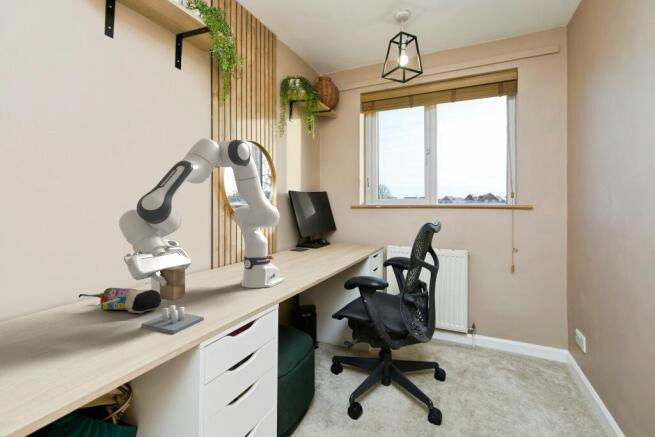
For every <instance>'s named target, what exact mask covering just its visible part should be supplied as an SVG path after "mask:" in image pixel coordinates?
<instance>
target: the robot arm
mask: <svg viewBox="0 0 655 437" xmlns="http://www.w3.org/2000/svg"><path fill="white" fill-rule="evenodd" d="M215 168H231V169H232V172H233V178H234V182H235V185H236V190H237V193H238V196H239V197H240V198H241V199H242V200H244V202H245V203H246V205H241V206H238V207H236V209H235V210H234V211H233V214H232V215H233V221H234V222H235V224H236V225H237V226H238V227H239V229H240V232H241V234H242V236H243V241H244V255H243V264H244V267H243V274H242V275H243V276H242V279H241V280H242V281H241V286H242V287H245V288H248V289H249V288H250V289H257V288H258V289H259V288H272V287H273V286H276V285H278V284H280V283H282V282H285V280H286V279H285V277H283V276H281V271H280V269H279V267H278V266H276V265H275V264H274V263H272V262H271V260H274V258H275V257H274V255H271V254H270V255H269V254H268V253H269V246H268V244H269V241H268V239H267V237H266V236H265V235H264V234H263V232H262V231H261V230H262V229H269V228H270V229H271V228H274V227H276V226H277V225H278V224H279V221H280V216H281V215H280V211H279V210H278V209H277V207H275V206H274V205H273V204H272V203H271V202H270V201H269V200H268V198H267V197H266V194H265V192H264V191H263V187H262V183H261V179H260V175H259V172H258V167H257V165H256V163H255V160H254V158H253V157H252V155H251V149H250V147H249V145H248V144H247V143H246V142H245V141H244V140H241V139H232V140H231V139H230V140H223V141H219V142H216V141H214V140H213V139H211V138H208V137H206V138H205V137H204V138H201V139H199V140H198V141H197V142H195V144H193V145H192V146H191V147H190V149H189V150H188V152H187V153H186V154H185V155H184V157H183V159H182V160H180V161H177V163H175V164H174V165H173V166H172V167H171V168H170V169H169V171H167V173H166V174H164V176H163V177H162V179H161V180H160V181H159V182H158V183H157V184H156V185H155V186H154V187H153V188H152V189H151V190H149V191H148V192H147V193H145V194H143V196H142V197H140V199H139V200H138V201H137V204H136V209H130V210H128V211H126V212H124V213H123V214H122V215H121V216H120V218H119V220H118V225H119V226H118V227H119V228H120V231H121V233H122V235H123V237H124V239H126V241H127V242H128V243H129V244H130V245H131V246H132V250H133V251H134V253H126V255H125V256H124V257H123V261H124V263H125V264H126V265H127V269H128V271H129V273H130V274H131V277H132V278H133V280H136V281H141V280H144V279H145V280H146V279H149V278H150V279H151V277H153V279H154V280H156V281H158V282H160V283H161V285H162V286H165V285H167V284H168V283H169V281H168V279H167V278H163V277H162V276H161V275H160V271H162V270H163V269H164V268H169V267H174V266H176V267H185V270H187V269H188V268H189V266H190V265H191V263H192V260H191V257H189V254H187V252H186V251H185V250H184V249H183V248H182V247H180V242H178V241H176V240H170V239H166V238H164V237H167V236H168V235H171V234H172V233H175V232H176V231H178V229H179V228H180V227H181V225H182V218H181V216H180V214H179V212H178V211H177V209H176V208H175V207H174V205H173V200H174V197H175V195H176V194H177V193H178V192H179V190H180V189H181V188H182V187H183V185H184V184H185V183H187V182H188V183H191V184H202V183H204V182H206V181H207V180H208V178H209V177H210V176H211V174H212V173H213V171H214V169H215Z"/></svg>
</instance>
